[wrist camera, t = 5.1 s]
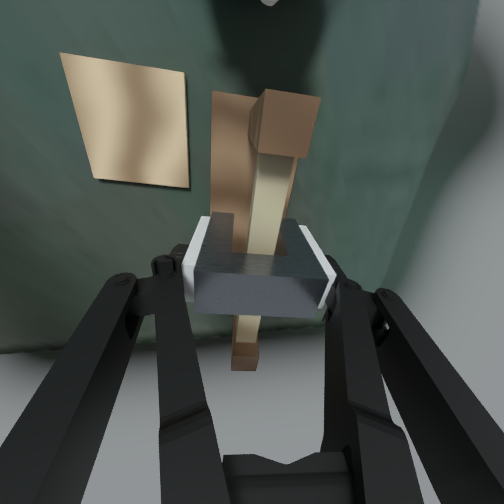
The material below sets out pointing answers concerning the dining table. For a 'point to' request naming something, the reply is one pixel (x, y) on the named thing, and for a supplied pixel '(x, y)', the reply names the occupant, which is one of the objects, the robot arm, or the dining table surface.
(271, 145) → the stand
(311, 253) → the c link
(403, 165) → the dining table surface
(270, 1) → the elephant figurine
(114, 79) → the cork coaster
